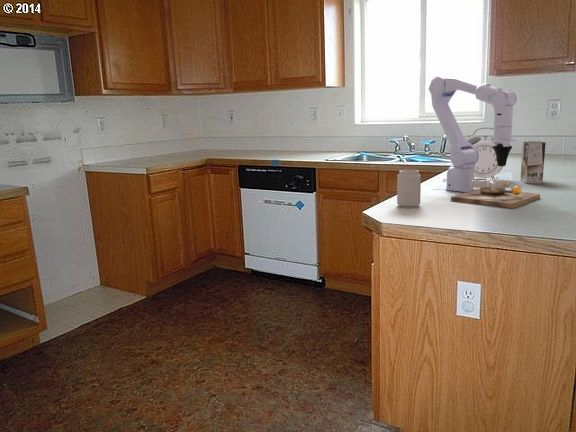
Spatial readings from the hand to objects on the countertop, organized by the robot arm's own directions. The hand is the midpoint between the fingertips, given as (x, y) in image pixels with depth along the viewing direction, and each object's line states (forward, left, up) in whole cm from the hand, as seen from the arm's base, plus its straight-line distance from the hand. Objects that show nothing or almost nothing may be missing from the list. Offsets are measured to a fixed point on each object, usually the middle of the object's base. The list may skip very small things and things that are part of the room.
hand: (501, 165), depth 171 cm
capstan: (+1, -7, -9) cm, 11 cm away
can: (-15, -34, -11) cm, 39 cm away
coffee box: (-3, +34, -11) cm, 35 cm away
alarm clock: (-20, +28, -11) cm, 36 cm away
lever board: (+2, -8, -10) cm, 14 cm away
